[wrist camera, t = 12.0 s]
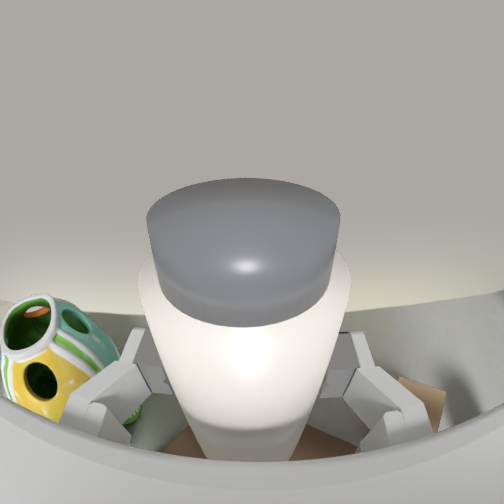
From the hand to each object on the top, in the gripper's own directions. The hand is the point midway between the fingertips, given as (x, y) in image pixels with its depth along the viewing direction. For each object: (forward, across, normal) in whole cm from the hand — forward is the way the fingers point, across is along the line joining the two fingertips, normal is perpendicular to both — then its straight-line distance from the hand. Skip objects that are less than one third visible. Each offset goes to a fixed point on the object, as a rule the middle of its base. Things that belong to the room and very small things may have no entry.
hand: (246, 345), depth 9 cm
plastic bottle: (-1, 0, +6) cm, 7 cm away
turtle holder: (+3, +16, +17) cm, 23 cm away
